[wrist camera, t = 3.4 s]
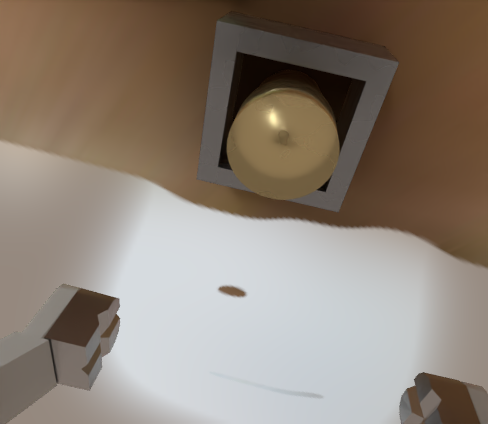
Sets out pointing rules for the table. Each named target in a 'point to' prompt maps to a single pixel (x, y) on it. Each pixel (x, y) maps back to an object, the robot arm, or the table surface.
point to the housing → (306, 55)
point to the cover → (284, 138)
